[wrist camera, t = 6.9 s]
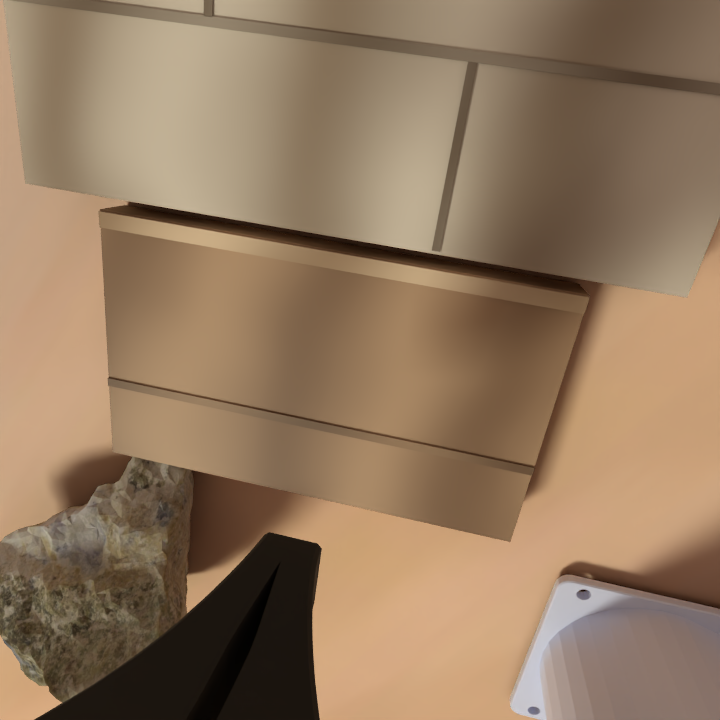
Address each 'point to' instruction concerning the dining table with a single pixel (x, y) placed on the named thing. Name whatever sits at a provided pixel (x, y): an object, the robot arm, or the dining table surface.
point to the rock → (98, 578)
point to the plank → (332, 366)
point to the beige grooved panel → (394, 122)
